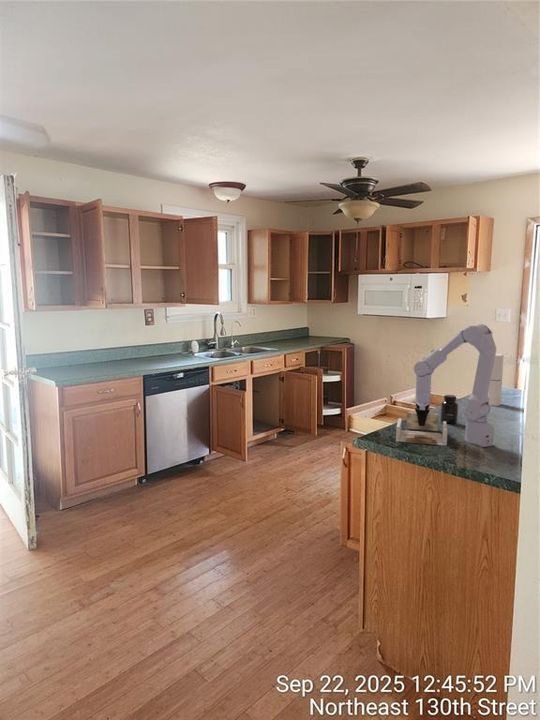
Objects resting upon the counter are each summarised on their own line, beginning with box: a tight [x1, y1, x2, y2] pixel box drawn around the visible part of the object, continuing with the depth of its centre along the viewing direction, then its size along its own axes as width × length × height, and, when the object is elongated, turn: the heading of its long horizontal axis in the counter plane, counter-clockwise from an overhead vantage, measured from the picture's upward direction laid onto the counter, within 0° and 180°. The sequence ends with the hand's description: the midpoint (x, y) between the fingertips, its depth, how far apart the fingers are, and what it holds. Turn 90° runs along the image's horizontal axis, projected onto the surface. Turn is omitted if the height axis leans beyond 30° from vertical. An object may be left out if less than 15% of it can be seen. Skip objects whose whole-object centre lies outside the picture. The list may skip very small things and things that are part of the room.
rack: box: [395, 418, 448, 446], centre depth 183 cm, size 18×14×6 cm
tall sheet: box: [406, 411, 439, 432], centre depth 195 cm, size 12×2×8 cm, turn 72°
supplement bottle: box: [439, 394, 459, 426], centre depth 205 cm, size 7×7×12 cm
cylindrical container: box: [487, 353, 504, 407], centre depth 238 cm, size 7×7×25 cm
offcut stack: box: [405, 434, 437, 445], centre depth 179 cm, size 11×3×2 cm, turn 72°
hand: (421, 423), depth 195 cm, fingers open, 7 cm apart
